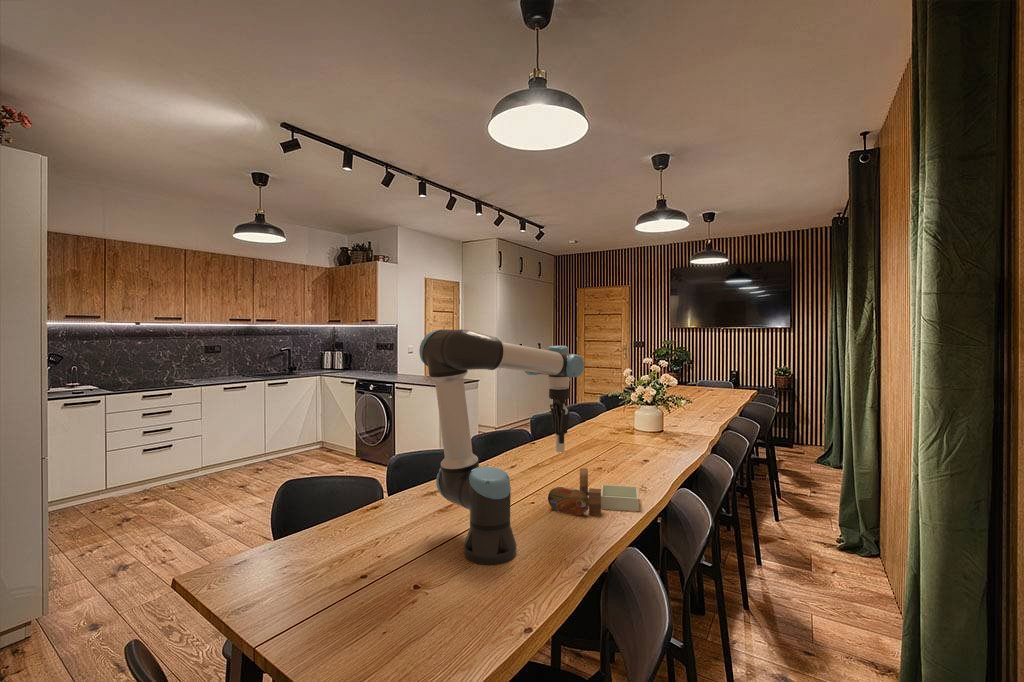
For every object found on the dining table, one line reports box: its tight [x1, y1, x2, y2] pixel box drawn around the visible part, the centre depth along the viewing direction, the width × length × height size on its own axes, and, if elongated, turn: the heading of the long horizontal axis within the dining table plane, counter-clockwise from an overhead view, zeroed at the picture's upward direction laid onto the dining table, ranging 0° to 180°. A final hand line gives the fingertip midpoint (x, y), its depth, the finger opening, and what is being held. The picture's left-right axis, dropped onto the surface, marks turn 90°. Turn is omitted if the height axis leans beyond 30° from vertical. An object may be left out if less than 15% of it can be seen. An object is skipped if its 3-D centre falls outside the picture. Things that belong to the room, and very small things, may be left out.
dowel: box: [579, 467, 589, 496], centre depth 178 cm, size 3×3×12 cm
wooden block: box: [588, 487, 602, 517], centre depth 167 cm, size 4×4×8 cm
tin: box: [547, 486, 589, 516], centre depth 168 cm, size 15×3×8 cm, turn 58°
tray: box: [600, 484, 640, 512], centre depth 176 cm, size 13×13×5 cm
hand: (560, 451), depth 176 cm, fingers closed
